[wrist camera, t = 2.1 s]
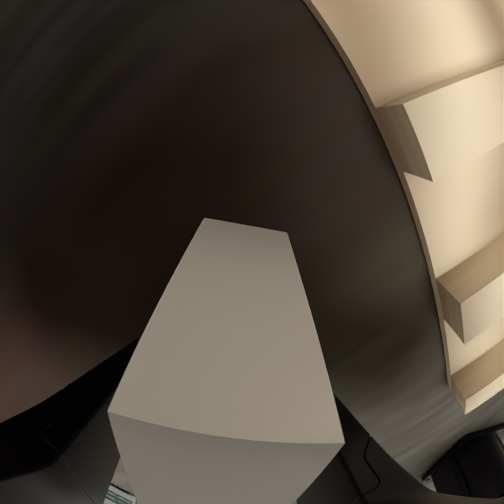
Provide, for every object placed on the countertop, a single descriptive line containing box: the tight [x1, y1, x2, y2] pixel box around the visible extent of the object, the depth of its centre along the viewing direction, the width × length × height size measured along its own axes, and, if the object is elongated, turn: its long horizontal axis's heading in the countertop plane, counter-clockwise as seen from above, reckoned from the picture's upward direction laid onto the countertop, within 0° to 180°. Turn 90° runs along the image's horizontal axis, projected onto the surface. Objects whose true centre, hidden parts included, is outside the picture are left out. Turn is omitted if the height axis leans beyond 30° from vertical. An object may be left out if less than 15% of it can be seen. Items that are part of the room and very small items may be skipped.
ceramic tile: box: [107, 218, 345, 504], centre depth 7 cm, size 2×8×7 cm, turn 169°
